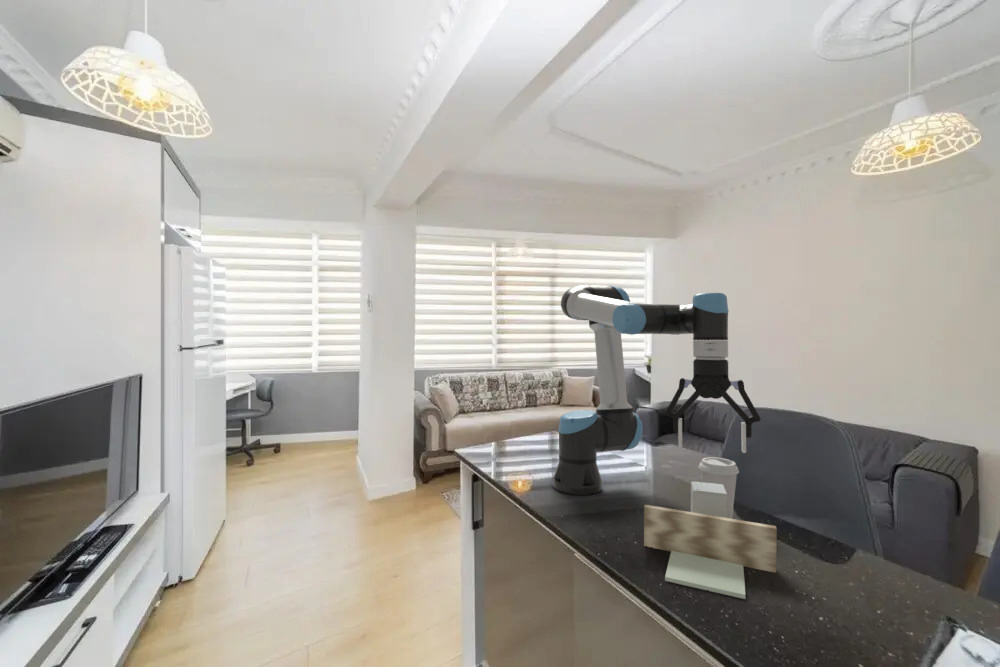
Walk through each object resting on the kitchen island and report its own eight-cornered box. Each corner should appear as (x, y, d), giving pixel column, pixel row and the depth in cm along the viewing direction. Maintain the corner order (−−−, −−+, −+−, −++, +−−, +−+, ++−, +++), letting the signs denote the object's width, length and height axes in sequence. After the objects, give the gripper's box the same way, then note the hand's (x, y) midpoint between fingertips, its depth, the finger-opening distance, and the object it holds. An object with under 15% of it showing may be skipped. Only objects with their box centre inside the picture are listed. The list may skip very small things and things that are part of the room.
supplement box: (727, 550, 104) (727, 494, 104) (691, 544, 106) (691, 490, 106) (723, 536, 111) (724, 483, 111) (690, 531, 113) (690, 480, 113)
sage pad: (664, 580, 91) (665, 576, 91) (671, 554, 102) (671, 550, 102) (745, 599, 85) (745, 594, 85) (743, 568, 96) (743, 565, 96)
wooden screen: (644, 546, 106) (644, 506, 105) (645, 543, 107) (645, 504, 107) (776, 572, 94) (776, 528, 94) (775, 569, 96) (775, 526, 95)
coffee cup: (743, 527, 116) (744, 467, 115) (702, 524, 118) (703, 465, 117) (732, 512, 125) (732, 457, 125) (694, 510, 127) (695, 455, 127)
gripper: (653, 358, 111) (654, 447, 111) (773, 360, 101) (774, 457, 100) (656, 357, 118) (657, 440, 117) (769, 358, 108) (770, 450, 107)
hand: (711, 448), depth 109 cm, fingers open, 13 cm apart
